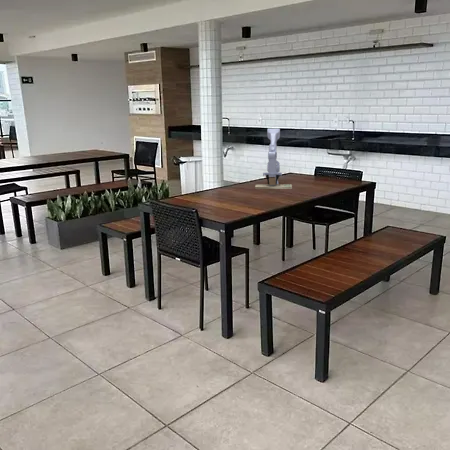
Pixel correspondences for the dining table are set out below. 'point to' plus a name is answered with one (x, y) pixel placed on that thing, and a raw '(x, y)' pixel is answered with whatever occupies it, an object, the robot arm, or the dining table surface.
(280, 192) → the dining table surface
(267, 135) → the robot arm
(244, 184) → the dining table surface
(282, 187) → the birch board
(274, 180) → the eraser block
